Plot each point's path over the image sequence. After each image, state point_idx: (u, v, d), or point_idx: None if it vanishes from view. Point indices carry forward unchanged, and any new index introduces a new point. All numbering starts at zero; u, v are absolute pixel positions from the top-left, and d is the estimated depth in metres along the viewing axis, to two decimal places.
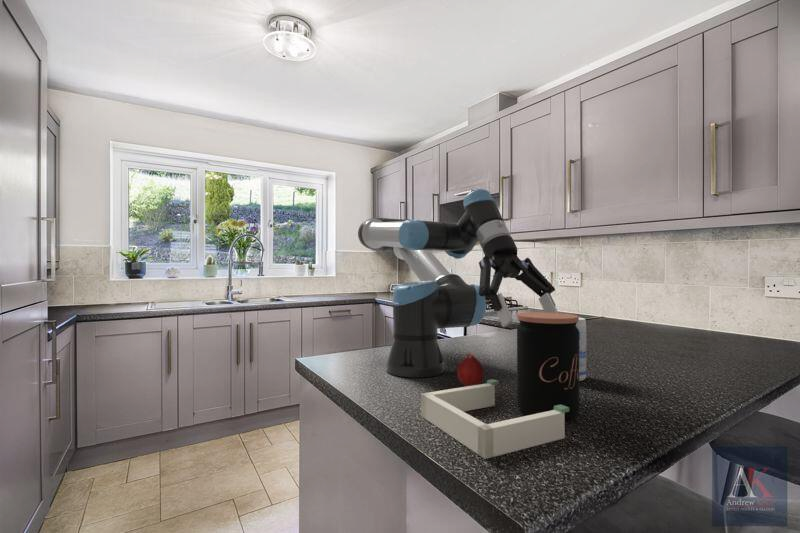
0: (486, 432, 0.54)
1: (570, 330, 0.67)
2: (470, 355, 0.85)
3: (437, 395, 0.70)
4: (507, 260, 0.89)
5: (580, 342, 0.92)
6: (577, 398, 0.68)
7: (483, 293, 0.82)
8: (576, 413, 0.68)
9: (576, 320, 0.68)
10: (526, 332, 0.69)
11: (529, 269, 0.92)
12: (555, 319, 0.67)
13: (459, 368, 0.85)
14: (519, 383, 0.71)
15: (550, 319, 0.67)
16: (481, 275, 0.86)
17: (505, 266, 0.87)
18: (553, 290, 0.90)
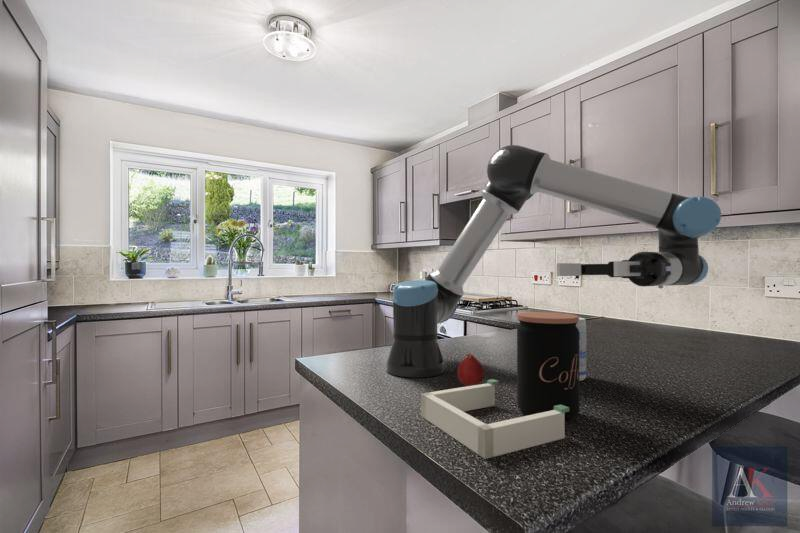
0: (486, 432, 0.54)
1: (570, 330, 0.67)
2: (470, 355, 0.85)
3: (437, 395, 0.70)
4: None
5: (580, 342, 0.92)
6: (577, 398, 0.68)
7: (657, 268, 0.71)
8: (576, 413, 0.68)
9: (576, 320, 0.68)
10: (526, 332, 0.69)
11: None
12: (555, 319, 0.67)
13: (459, 368, 0.85)
14: (519, 383, 0.71)
15: (550, 319, 0.67)
16: (664, 265, 0.75)
17: (640, 277, 0.80)
18: None
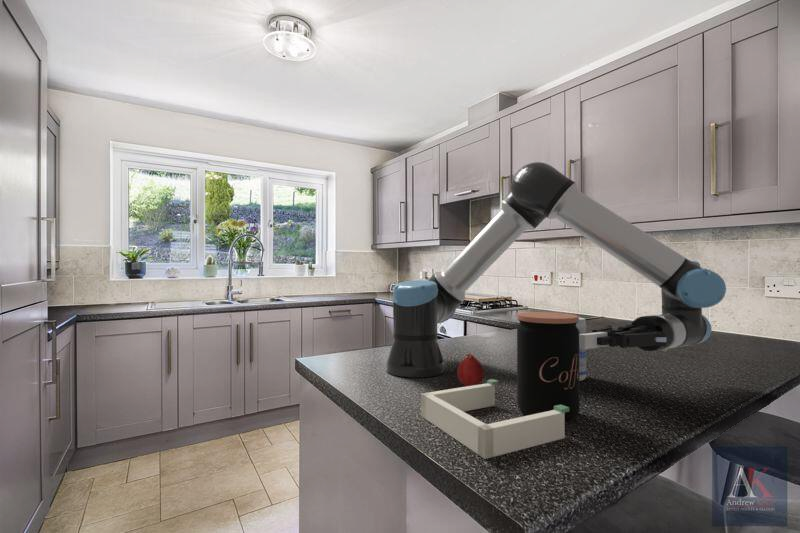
0: (486, 432, 0.54)
1: (570, 330, 0.67)
2: (470, 355, 0.85)
3: (437, 395, 0.70)
4: None
5: None
6: (577, 398, 0.68)
7: (623, 340, 0.75)
8: (576, 413, 0.68)
9: (576, 320, 0.68)
10: (526, 332, 0.69)
11: None
12: (555, 319, 0.67)
13: (459, 368, 0.85)
14: (519, 383, 0.71)
15: (550, 319, 0.67)
16: (645, 336, 0.76)
17: None
18: None
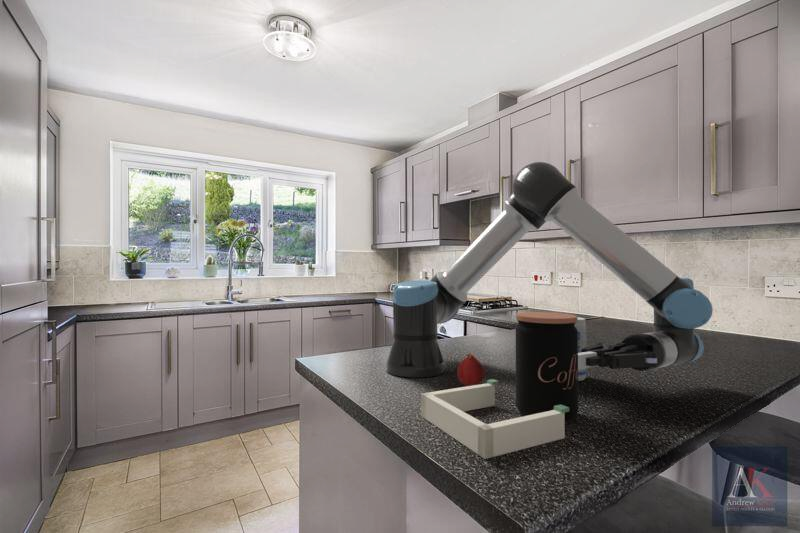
0: (486, 432, 0.54)
1: (569, 330, 0.67)
2: (470, 355, 0.85)
3: (437, 395, 0.70)
4: None
5: (580, 342, 0.92)
6: (576, 398, 0.68)
7: (612, 361, 0.73)
8: (575, 413, 0.67)
9: (575, 320, 0.68)
10: (524, 332, 0.69)
11: None
12: (554, 319, 0.66)
13: (459, 368, 0.85)
14: (518, 383, 0.71)
15: (548, 319, 0.66)
16: (636, 357, 0.74)
17: None
18: None
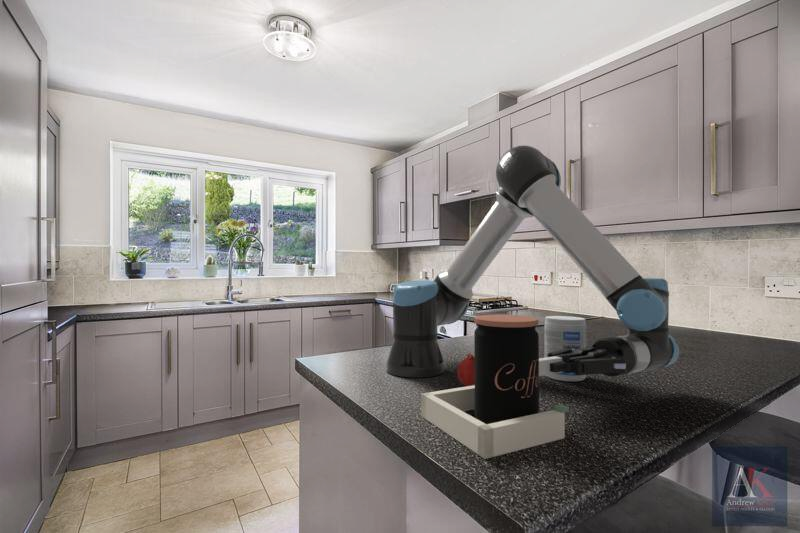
0: (486, 432, 0.54)
1: (528, 334, 0.63)
2: (470, 355, 0.85)
3: (437, 395, 0.70)
4: None
5: (580, 342, 0.92)
6: (535, 407, 0.63)
7: (578, 367, 0.69)
8: None
9: (535, 323, 0.63)
10: (481, 336, 0.65)
11: None
12: (511, 322, 0.62)
13: (459, 368, 0.85)
14: (475, 391, 0.66)
15: (505, 323, 0.62)
16: (603, 363, 0.70)
17: None
18: None
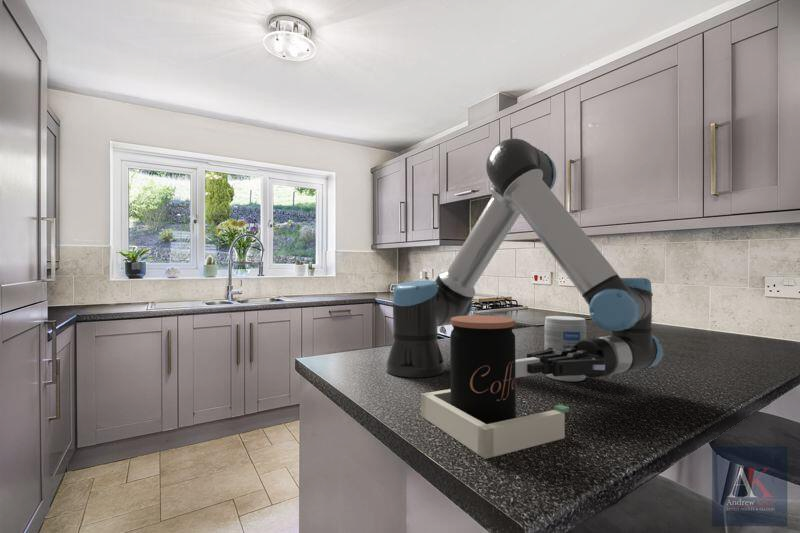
0: (486, 432, 0.54)
1: (504, 335, 0.61)
2: None
3: (437, 395, 0.70)
4: None
5: None
6: (512, 410, 0.62)
7: (555, 368, 0.68)
8: None
9: (511, 324, 0.62)
10: (457, 338, 0.63)
11: None
12: (487, 324, 0.60)
13: None
14: (451, 394, 0.65)
15: (481, 324, 0.60)
16: (581, 364, 0.69)
17: None
18: None
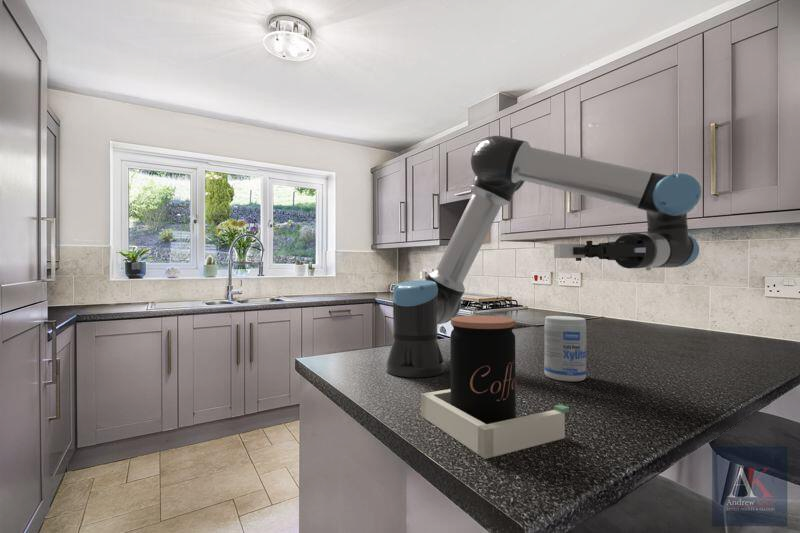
0: (486, 432, 0.54)
1: (504, 335, 0.61)
2: None
3: (437, 395, 0.70)
4: None
5: (580, 342, 0.92)
6: (512, 410, 0.62)
7: (599, 250, 0.74)
8: None
9: (511, 325, 0.62)
10: (457, 338, 0.63)
11: None
12: (487, 324, 0.60)
13: None
14: (451, 394, 0.65)
15: (481, 324, 0.60)
16: (623, 247, 0.75)
17: (617, 259, 0.80)
18: None
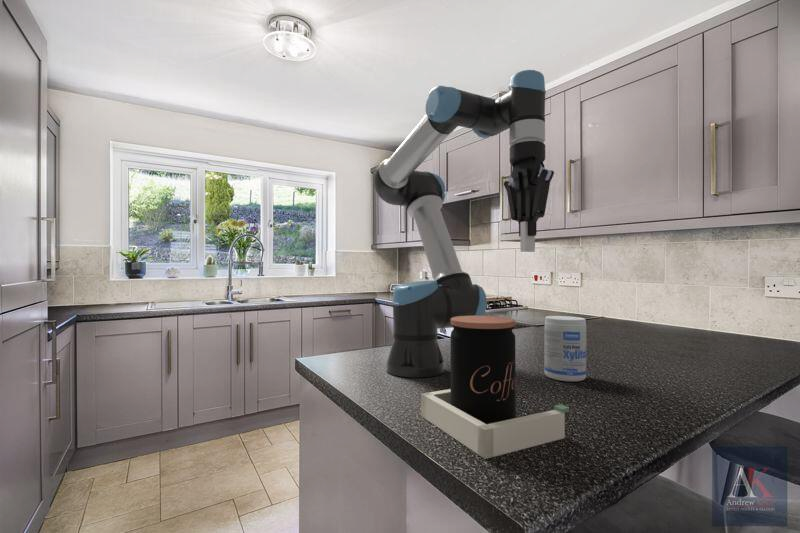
0: (486, 432, 0.54)
1: (504, 335, 0.61)
2: None
3: (437, 395, 0.70)
4: None
5: (580, 342, 0.92)
6: (512, 410, 0.62)
7: (539, 216, 0.83)
8: None
9: (511, 325, 0.62)
10: (457, 338, 0.63)
11: (515, 189, 0.90)
12: (487, 324, 0.60)
13: None
14: (451, 394, 0.65)
15: (481, 324, 0.61)
16: (541, 191, 0.81)
17: None
18: None
